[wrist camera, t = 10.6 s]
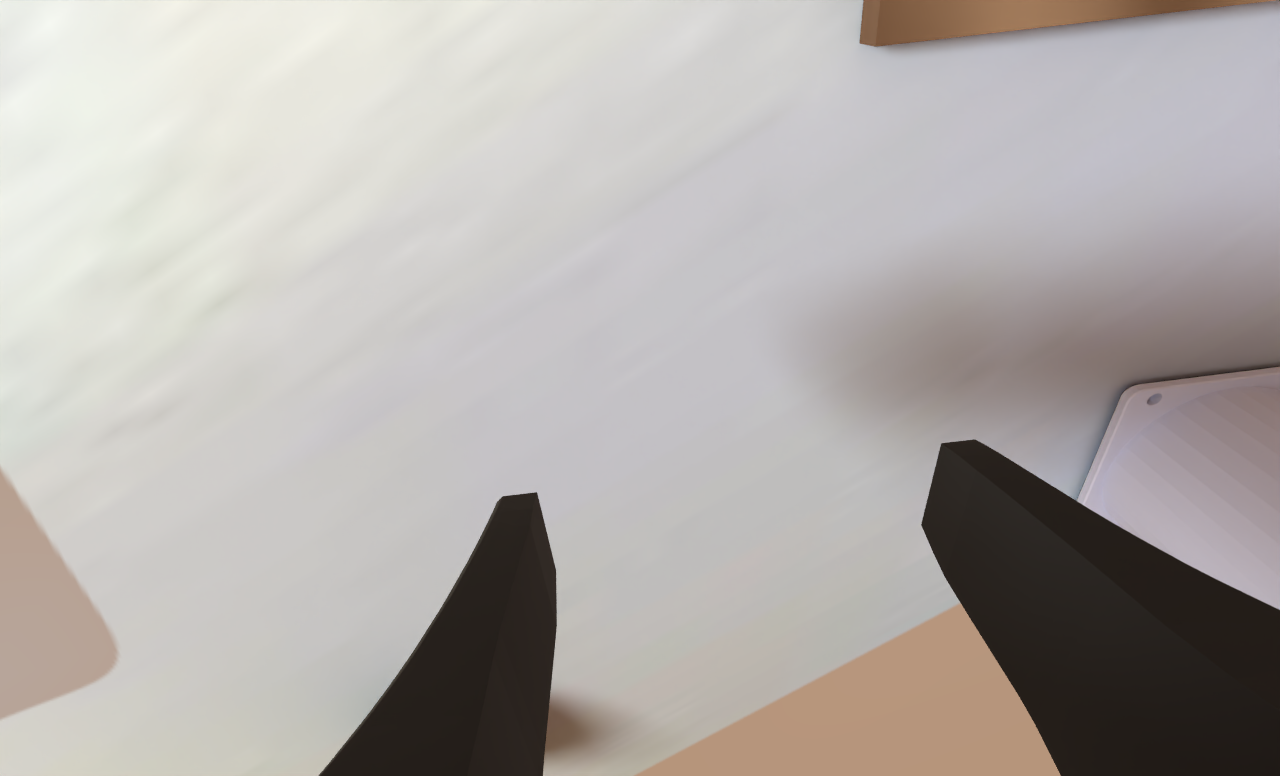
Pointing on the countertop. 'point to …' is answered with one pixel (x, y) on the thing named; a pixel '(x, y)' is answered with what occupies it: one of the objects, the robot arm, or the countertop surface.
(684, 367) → the countertop surface
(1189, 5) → the walnut board
